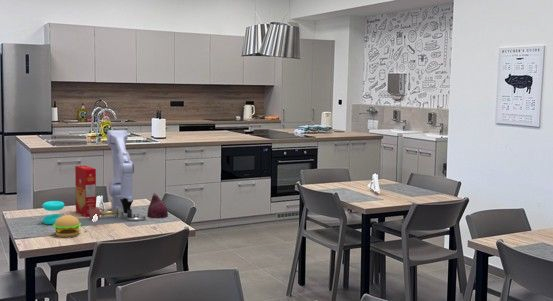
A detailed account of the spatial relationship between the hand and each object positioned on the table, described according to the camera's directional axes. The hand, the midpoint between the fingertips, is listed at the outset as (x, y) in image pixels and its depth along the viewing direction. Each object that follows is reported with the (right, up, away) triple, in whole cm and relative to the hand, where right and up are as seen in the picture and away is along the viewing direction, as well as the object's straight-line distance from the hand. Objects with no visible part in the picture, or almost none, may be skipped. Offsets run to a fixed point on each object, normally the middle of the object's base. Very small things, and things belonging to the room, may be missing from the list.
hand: (126, 213), depth 297 cm
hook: (-9, -2, -2) cm, 10 cm away
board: (-7, -4, -5) cm, 9 cm away
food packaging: (-23, -2, +7) cm, 24 cm away
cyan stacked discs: (-33, -4, -10) cm, 35 cm away
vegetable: (+14, -3, +6) cm, 16 cm away
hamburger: (-19, -7, -32) cm, 37 cm away
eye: (-4, -2, +1) cm, 5 cm away
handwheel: (+5, -3, -3) cm, 7 cm away
